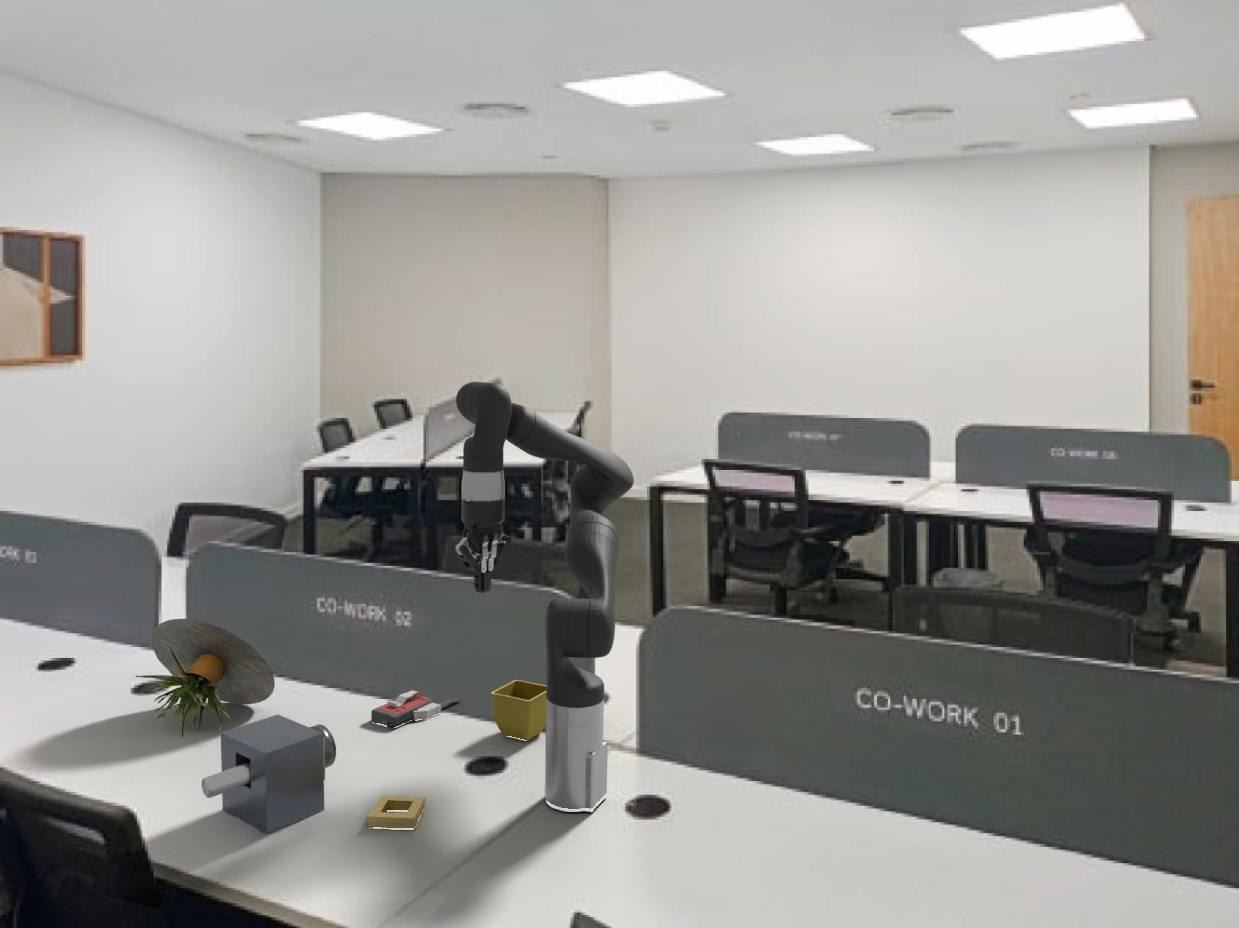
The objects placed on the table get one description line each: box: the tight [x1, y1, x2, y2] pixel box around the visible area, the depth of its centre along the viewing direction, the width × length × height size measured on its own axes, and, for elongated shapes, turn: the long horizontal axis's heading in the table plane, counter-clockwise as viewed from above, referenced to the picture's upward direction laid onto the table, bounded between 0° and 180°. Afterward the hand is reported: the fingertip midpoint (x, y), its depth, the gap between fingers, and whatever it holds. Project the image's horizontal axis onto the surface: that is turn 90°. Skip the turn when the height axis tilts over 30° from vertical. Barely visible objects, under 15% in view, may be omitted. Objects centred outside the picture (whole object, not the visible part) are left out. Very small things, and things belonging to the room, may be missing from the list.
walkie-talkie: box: [370, 689, 452, 729], centre depth 194 cm, size 9×4×20 cm
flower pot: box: [490, 679, 547, 740], centre depth 184 cm, size 9×9×9 cm
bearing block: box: [220, 714, 325, 835], centre depth 152 cm, size 10×12×12 cm
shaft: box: [201, 724, 337, 799], centre depth 151 cm, size 20×7×7 cm, turn 143°
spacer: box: [367, 795, 426, 828], centre depth 151 cm, size 7×7×2 cm
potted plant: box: [135, 618, 276, 738], centre depth 185 cm, size 25×18×25 cm
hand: (482, 591), depth 175 cm, fingers closed
